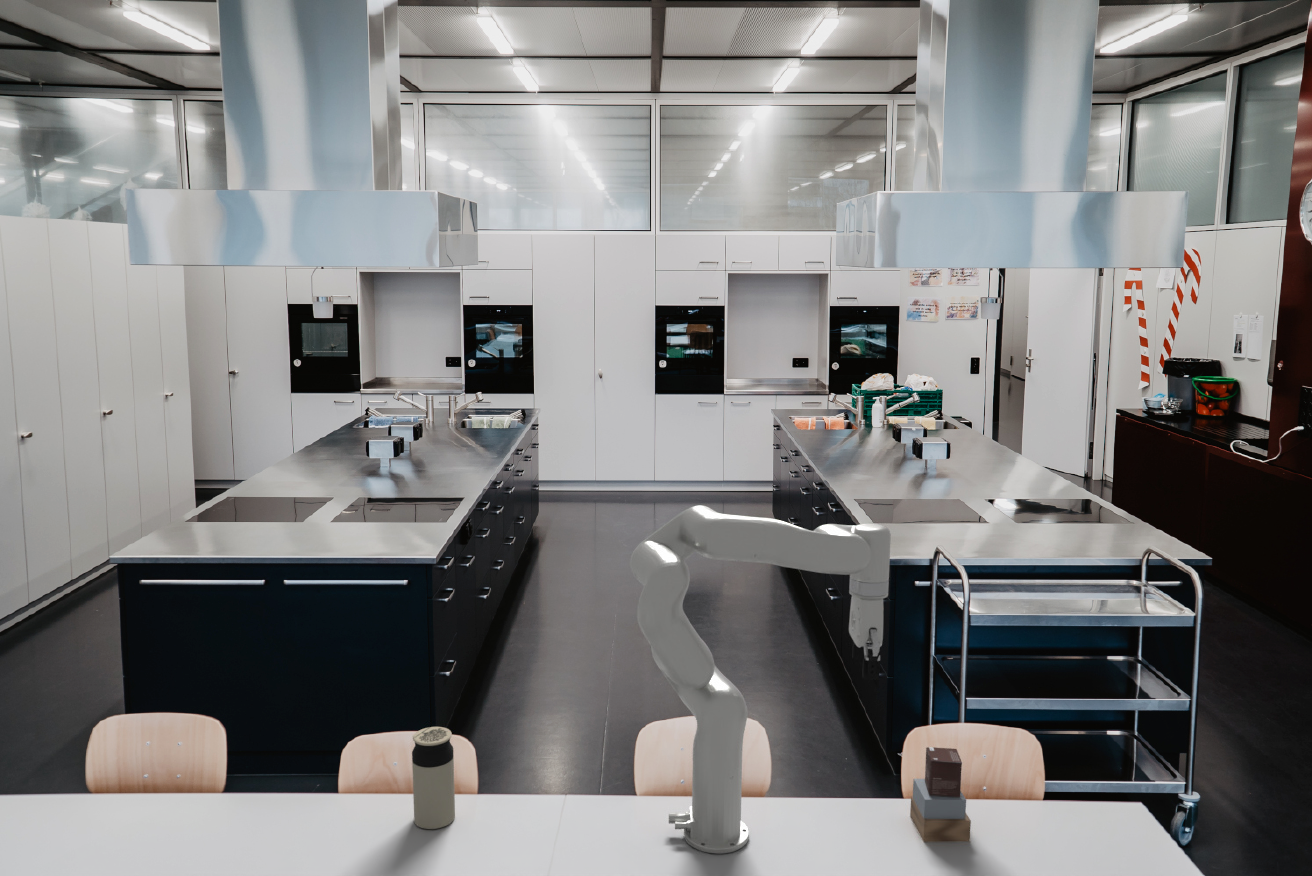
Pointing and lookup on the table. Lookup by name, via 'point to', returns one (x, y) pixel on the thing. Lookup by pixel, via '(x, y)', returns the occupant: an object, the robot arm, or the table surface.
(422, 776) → the travel mug
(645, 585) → the robot arm
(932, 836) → the tower base
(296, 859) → the table surface
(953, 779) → the box
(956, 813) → the tower top
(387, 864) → the table surface
